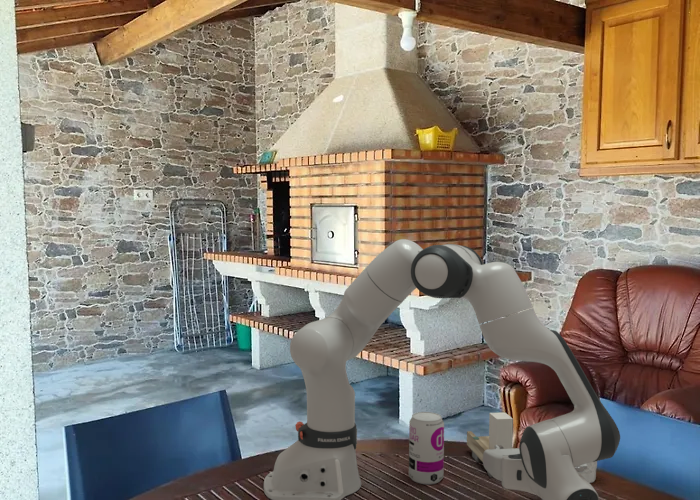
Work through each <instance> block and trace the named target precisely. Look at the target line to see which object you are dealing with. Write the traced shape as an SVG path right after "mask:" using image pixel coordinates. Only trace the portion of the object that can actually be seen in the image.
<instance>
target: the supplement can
mask: <svg viewBox="0 0 700 500" xmlns="http://www.w3.org/2000/svg"><path fill="white" fill-rule="evenodd" d="M408 427H409V428H408V430H409V433H408V435H409V436H408V437H409V438H408V446H409V447H408V450H409V451H408V477H409V478H410V479H411V480H412V481H413V482H415V483H417V484H421V485H435V484H437V483H439V482H441V480H442V479H443V478H444V471H445V470H444V469H445V467H444V465H445V463H444V460H445V459H444V457H445V456H444V455H445V447H444V446H445V422H444V420H443V417H442V415H441V414H439V413H436V412H431V411H418V412H414V413H413V414H412V415H411V418H410V419H409V426H408Z"/></svg>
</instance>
